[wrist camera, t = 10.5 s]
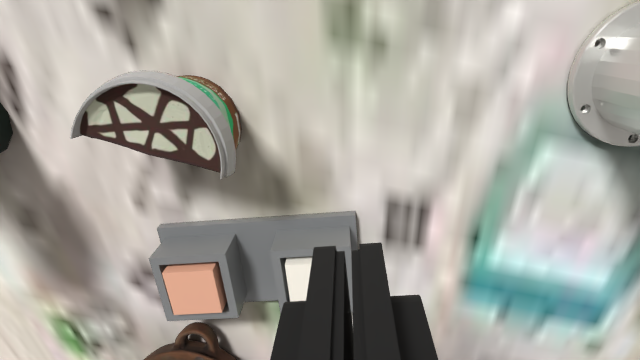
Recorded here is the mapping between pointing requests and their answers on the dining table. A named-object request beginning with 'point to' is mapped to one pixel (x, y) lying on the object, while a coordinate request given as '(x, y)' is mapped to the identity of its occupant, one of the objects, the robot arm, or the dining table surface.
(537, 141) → the dining table surface
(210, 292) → the key terracotta
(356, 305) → the robot arm
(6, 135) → the wine bottle
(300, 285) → the key cream
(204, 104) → the grey arched window
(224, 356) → the dish
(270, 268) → the key panel
